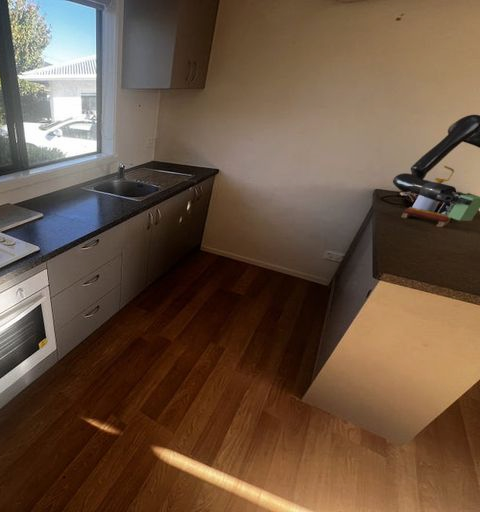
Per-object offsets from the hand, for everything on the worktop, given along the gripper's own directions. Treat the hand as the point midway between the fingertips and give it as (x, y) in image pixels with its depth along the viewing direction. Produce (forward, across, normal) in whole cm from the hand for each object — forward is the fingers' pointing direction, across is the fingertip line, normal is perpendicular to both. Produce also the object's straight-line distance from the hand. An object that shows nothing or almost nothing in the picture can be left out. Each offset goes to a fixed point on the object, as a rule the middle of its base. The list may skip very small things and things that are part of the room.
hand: (477, 203), depth 121 cm
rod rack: (-26, +11, +18) cm, 33 cm away
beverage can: (-28, +24, +18) cm, 41 cm away
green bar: (-3, 0, +8) cm, 8 cm away
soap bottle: (-42, +26, +18) cm, 53 cm away
